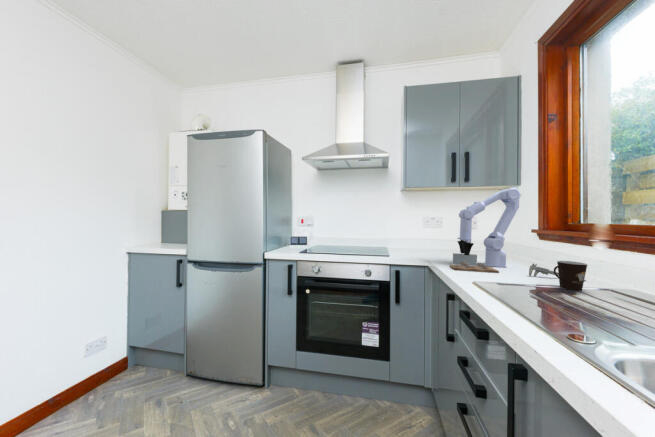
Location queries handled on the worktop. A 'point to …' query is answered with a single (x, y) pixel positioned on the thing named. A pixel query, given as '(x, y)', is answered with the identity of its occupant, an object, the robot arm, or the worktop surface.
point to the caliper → (541, 270)
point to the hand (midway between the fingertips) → (464, 254)
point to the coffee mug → (571, 274)
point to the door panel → (465, 258)
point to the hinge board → (474, 267)
